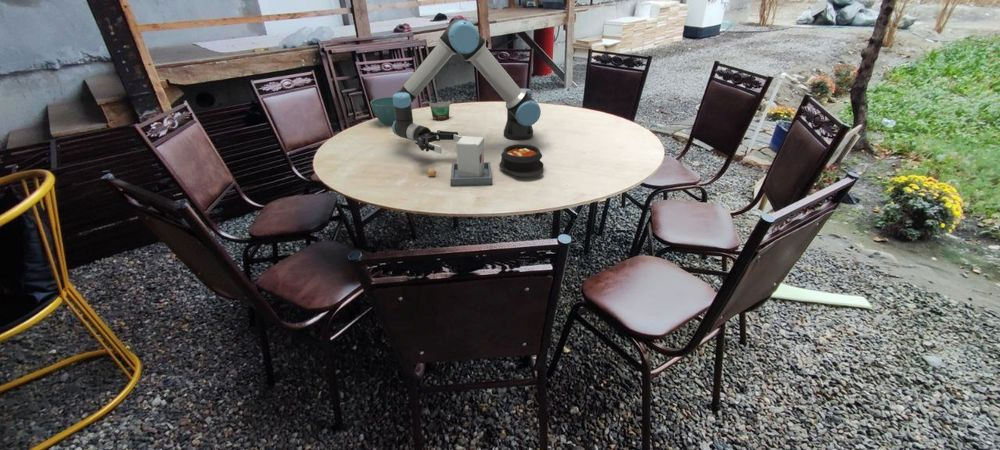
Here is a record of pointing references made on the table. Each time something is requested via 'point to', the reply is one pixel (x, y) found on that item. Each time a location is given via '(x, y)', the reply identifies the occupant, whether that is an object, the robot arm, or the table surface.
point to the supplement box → (470, 157)
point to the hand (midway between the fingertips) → (453, 145)
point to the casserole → (522, 160)
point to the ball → (431, 172)
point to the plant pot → (384, 110)
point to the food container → (440, 110)
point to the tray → (472, 181)
